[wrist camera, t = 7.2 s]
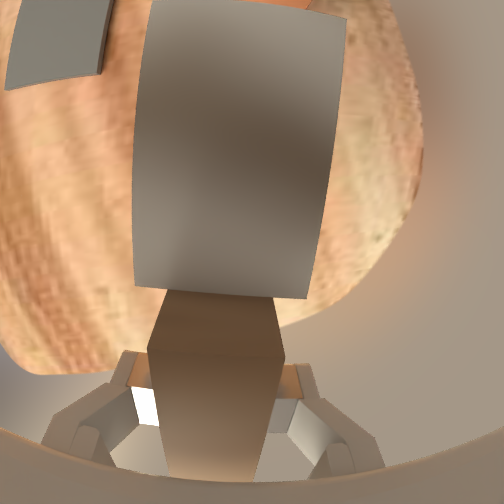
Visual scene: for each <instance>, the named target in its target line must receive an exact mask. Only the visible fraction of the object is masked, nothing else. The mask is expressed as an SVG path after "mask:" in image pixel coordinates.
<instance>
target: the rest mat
mask: <svg viewBox="0 0 504 504" xmlns="http://www.w3.org/2000/svg"><path fill="white" fill-rule="evenodd" d="M113 2H114V0H22V3H21V6H20V10H19V13H18V17H17V21H16V25H15V29H14V34H13V38H12V43H11V48H10V54H9V60H8V66H7V73H6V80H5V89H4V90H8V91H10V90H14V89H18V88H22V87H26V86H31V85H36V84H41V83H46V82H51V81H57V80H63V79H69V78H76V77H84V76H92V75H101V68H102V61H103V54H104V48H105V42H106V36H107V30H108V25H109V20H110V16H111V11H112V6H113Z"/></svg>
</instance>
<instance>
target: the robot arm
mask: <svg viewBox="0 0 504 504" xmlns="http://www.w3.org/2000/svg"><path fill="white" fill-rule="evenodd" d="M139 423H144V424H151V425H159V423H158V418H157V412H156V407H155V401H154V395H153V389H152V382H151V375H150V368H149V361H148V353H142V352H134V351H128V350H125V351H124V352H123V353H122V355H121V357H120V360H119V362H118V364H117V367H116V369H115V372H114V374H113V377H112V379H111V381H110V383H104V384H103V385H101V386H100V387H98V388H96V389H95V390H93V391H92V392H90V393H89V394H87V395H85V396H84V397H82V398H81V399H79V400H77V401H76V402H74V403H73V404H71V405H69V406H68V407H66V408H64V409H63V410H61V411H60V412H58V413H56V414H55V415H54V416H53V418H52V420H51V422H50V424H49V426H48V429H47V431H46V433H45V435H44V437H43V440H42V442H41V444H38V443H35V442H33V441H31V440H28V439H26V438H23V437H21V436H19V435H16V434H14V433H12V432H10V431H7V430H5V429H3V428H1V427H0V504H504V426H503V427H501V428H499V429H497V430H495V431H493V432H490V433H488V434H486V435H484V436H481V437H479V438H477V439H474V440H472V441H469V442H467V443H464V444H461V445H459V446H456V447H453V448H451V449H448V450H445V451H442V452H439V453H436V454H433V455H430V456H426V457H423V458H420V459H416V460H413V461H409V462H405V463H402V464H398V465H394V466H389V467H385V464H384V461H383V459H382V456H381V454H380V451H379V448H378V445H377V443H376V440H375V437H373V436H372V435H371V434H369V433H368V432H367V431H365V430H364V429H363V428H361V427H360V426H359V425H357V424H356V423H355V422H354V421H352V420H351V419H350V418H348V417H347V416H346V415H345V414H343V413H342V412H341V411H340V410H338V409H337V408H336V407H335V406H333V405H332V404H331V403H329V402H328V401H327V400H326V399H325V398H320V396H319V392H318V389H317V386H316V382H315V379H314V376H313V372H312V369H311V366H310V364H308V363H304V364H284V366H283V370H282V374H281V378H280V383H279V387H278V391H277V395H276V399H275V403H274V407H273V410H272V414H271V418H270V422H269V426H268V429H267V433H287V435H288V436H289V437H290V438H291V440H292V441H293V442H294V443H295V444H296V445H297V447H298V448H299V449H300V450H301V451H302V452H303V453H304V454H305V456H306V457H307V458H308V459H309V460H310V461H311V462H312V463H313V465H314V466H315V467H314V469H313V471H312V472H311V474H310V476H309V477H308V479H307V480H299V481H283V482H219V481H204V480H192V479H182V478H174V477H166V476H159V475H153V474H147V473H141V472H136V471H131V470H126V469H121V468H117V467H116V465H115V463H114V462H113V460H112V458H111V455H110V452H111V451H112V450H113V449H114V448H115V447H116V446H117V445H118V444H119V443H120V442H121V441H122V440H124V439H125V438H126V437H127V436H128V435H129V434H130V433H131V432H132V431H133V430H134V429H135V428H136V427H137V426H138V425H139Z"/></svg>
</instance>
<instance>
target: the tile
mask: <svg viewBox="0 0 504 504" xmlns="http://www.w3.org/2000/svg"><path fill="white" fill-rule="evenodd" d="M238 1H250V2H260V3H268V4H275V5H282V6H289V7H294V8H300V9H305V10H306V8H307V7H308V5H309V4H310V2H311V1H312V0H238Z"/></svg>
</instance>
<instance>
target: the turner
mask: <svg viewBox="0 0 504 504" xmlns="http://www.w3.org/2000/svg"><path fill="white" fill-rule="evenodd" d="M346 22H347V19H344V18H341V17H337V16H333V15H329V14H324V13H320V12H315V11H310V10H305V9H300V8H294V7H289V6H282V5H275V4H268V3H260V2H250V1H238V0H152V5H151V10H150V15H149V20H148V25H147V31H146V36H145V42H144V49H143V55H142V62H141V69H140V77H139V85H138V94H137V104H136V115H135V128H134V144H133V166H132V242H133V264H134V280H135V286H140V287H150V288H160V289H168V290H167V293H166V296H165V298H164V301H163V304H162V306H161V309H160V312H159V315H158V317H157V320H156V323H155V326H154V328H153V331H152V334H151V337H150V340H149V343H148V346H147V353H148V361H149V368H150V375H151V382H152V389H153V395H154V401H155V407H156V412H157V418H158V423H159V428H160V433H161V438H162V443H163V448H164V452H165V456H166V461H167V465H168V469H169V473H170V477H174V478H182V479H192V480H204V481H219V482H253V479H254V475H255V472H256V469H257V465H258V461H259V458H260V455H261V451H262V447H263V444H264V440H265V437H266V433H267V429H268V426H269V422H270V418H271V414H272V410H273V407H274V403H275V399H276V395H277V391H278V387H279V383H280V378H281V374H282V370H283V366H284V362H285V353H284V348H283V344H282V339H281V334H280V329H279V325H278V320H277V315H276V310H275V306H274V301H273V297H275V298H293V299H307V294H308V289H309V285H310V280H311V275H312V270H313V265H314V260H315V255H316V250H317V245H318V239H319V234H320V229H321V223H322V217H323V212H324V206H325V200H326V194H327V188H328V182H329V175H330V169H331V162H332V155H333V148H334V141H335V133H336V125H337V118H338V109H339V101H340V92H341V82H342V72H343V61H344V49H345V36H346Z"/></svg>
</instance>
